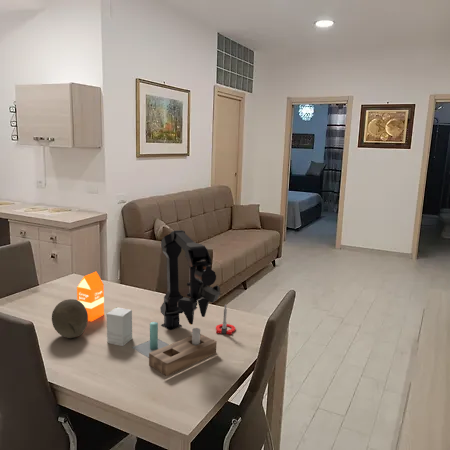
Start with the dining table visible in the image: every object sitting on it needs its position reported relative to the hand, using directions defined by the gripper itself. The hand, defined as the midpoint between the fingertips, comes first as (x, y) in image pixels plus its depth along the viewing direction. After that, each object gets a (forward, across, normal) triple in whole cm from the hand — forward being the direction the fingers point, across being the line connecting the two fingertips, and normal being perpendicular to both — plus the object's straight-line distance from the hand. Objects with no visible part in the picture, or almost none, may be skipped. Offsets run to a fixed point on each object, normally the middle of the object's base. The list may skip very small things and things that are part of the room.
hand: (197, 320), depth 159 cm
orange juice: (+9, +7, +59) cm, 60 cm away
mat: (+12, -4, +17) cm, 22 cm away
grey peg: (+14, 0, +1) cm, 14 cm away
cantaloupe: (+11, -12, +52) cm, 54 cm away
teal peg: (+12, -4, +17) cm, 21 cm away
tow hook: (+12, +25, 0) cm, 28 cm away
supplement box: (+12, -6, +32) cm, 35 cm away
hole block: (+14, -6, +3) cm, 15 cm away
